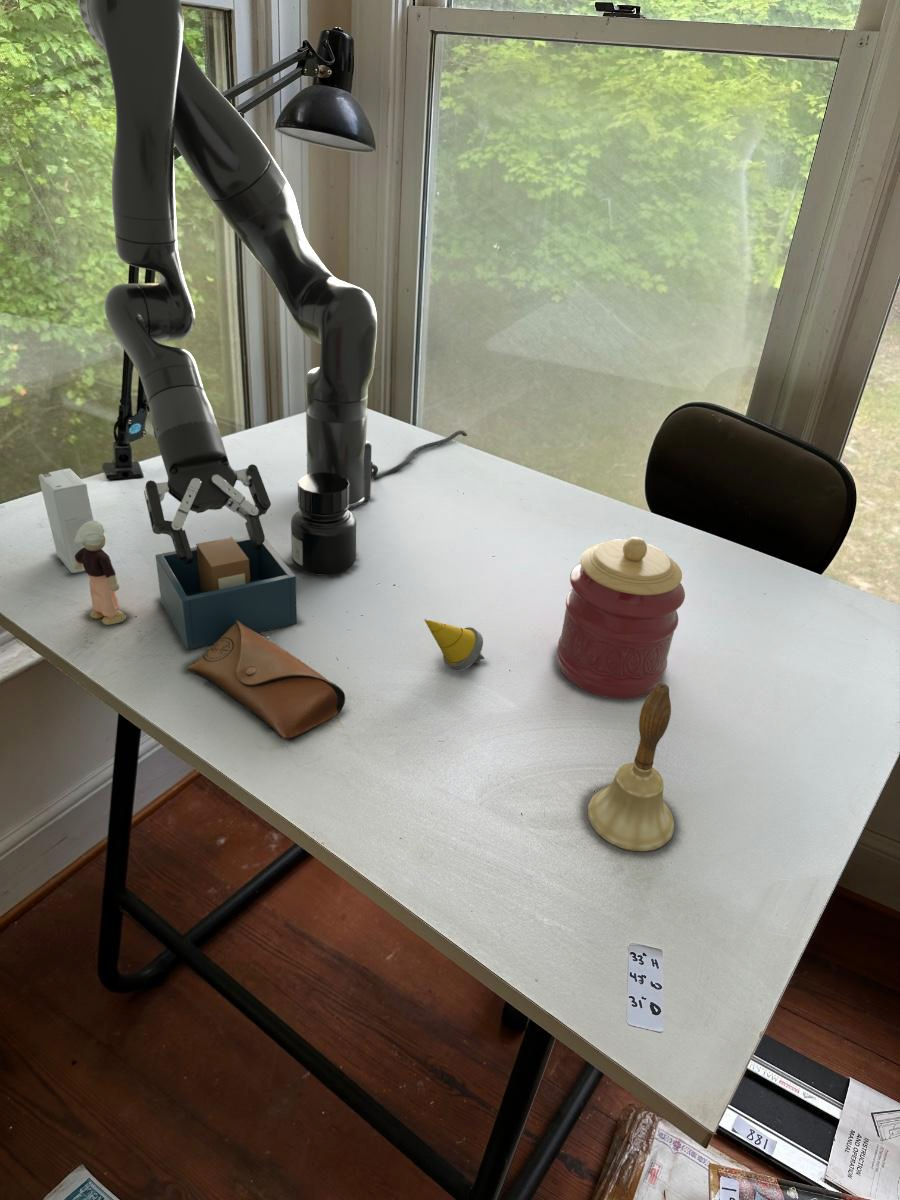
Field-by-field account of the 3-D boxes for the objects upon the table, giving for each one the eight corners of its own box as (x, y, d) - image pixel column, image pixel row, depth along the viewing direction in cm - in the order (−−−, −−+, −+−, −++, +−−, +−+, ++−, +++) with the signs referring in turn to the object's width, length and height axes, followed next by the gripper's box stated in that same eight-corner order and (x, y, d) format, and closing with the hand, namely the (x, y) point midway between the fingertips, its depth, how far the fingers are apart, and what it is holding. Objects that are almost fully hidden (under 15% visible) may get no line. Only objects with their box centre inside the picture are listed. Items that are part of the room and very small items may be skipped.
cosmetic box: (104, 566, 113) (90, 483, 107) (69, 575, 111) (53, 491, 104) (87, 547, 117) (72, 466, 111) (53, 555, 115) (37, 473, 108)
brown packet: (236, 591, 109) (232, 536, 105) (252, 615, 105) (249, 559, 100) (201, 599, 107) (196, 543, 103) (216, 624, 103) (211, 567, 98)
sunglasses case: (180, 666, 95) (201, 612, 95) (226, 669, 101) (246, 618, 101) (287, 743, 86) (312, 684, 86) (330, 740, 92) (354, 685, 92)
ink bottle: (306, 540, 123) (304, 464, 117) (364, 550, 122) (366, 473, 116) (281, 572, 115) (278, 492, 109) (343, 583, 114) (344, 503, 108)
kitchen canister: (536, 646, 105) (556, 519, 96) (624, 629, 110) (651, 506, 100) (591, 711, 95) (619, 576, 86) (685, 689, 100) (722, 559, 90)
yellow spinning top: (485, 685, 98) (427, 642, 93) (457, 679, 103) (400, 637, 97) (505, 645, 100) (449, 600, 95) (476, 641, 104) (421, 598, 99)
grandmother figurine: (141, 616, 104) (127, 524, 97) (118, 631, 101) (103, 537, 94) (93, 598, 107) (76, 507, 100) (69, 612, 104) (51, 520, 97)
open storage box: (264, 579, 114) (261, 534, 110) (297, 623, 105) (296, 576, 102) (161, 601, 107) (155, 554, 104) (187, 650, 99) (182, 601, 95)
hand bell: (576, 832, 80) (606, 700, 71) (599, 777, 86) (629, 649, 78) (664, 864, 77) (705, 731, 69) (681, 805, 84) (720, 676, 75)
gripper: (130, 427, 98) (169, 558, 96) (249, 411, 105) (287, 534, 103) (125, 453, 105) (161, 576, 103) (237, 437, 111) (273, 552, 110)
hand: (224, 555), depth 103 cm, fingers open, 8 cm apart
